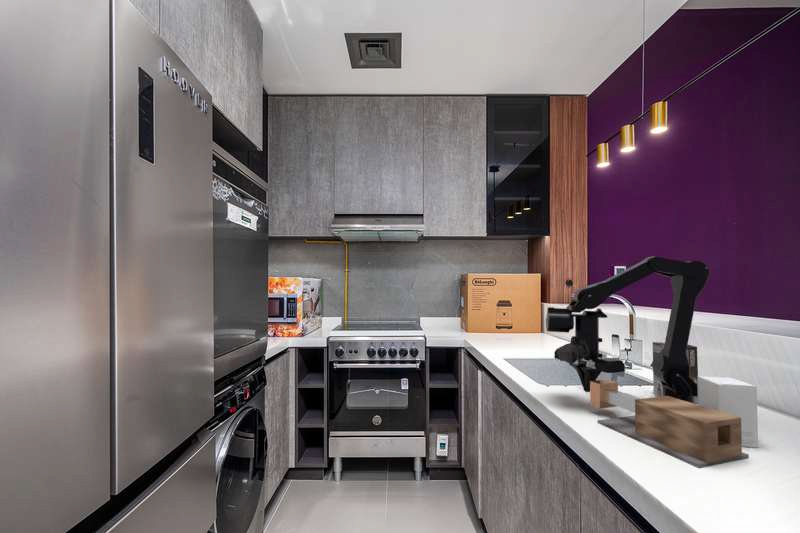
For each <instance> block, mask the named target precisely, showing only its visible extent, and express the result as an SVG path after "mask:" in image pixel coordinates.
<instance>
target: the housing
mask: <svg viewBox="0 0 800 533" xmlns="http://www.w3.org/2000/svg"><path fill="white" fill-rule="evenodd" d="M597 424H599V425H602V426H604V427H606V428H608V429H611V430H612V431H615V432H617V433H619V434H622V435H624V436H627V437H629V438H630V439H633V440H635V441H638V442H640V443H642V444H644V445H645V446H649V447H650V448H652V449H653V448H654V449H656V450H658V451H660V452H663V453H665V454H666V455H669V456H671V457H673V458H676V459H679V460H680V461H683V462H684V463H687V464H690V465H692V466H694V467H696V468H698V469H701V468H704V467H705V468H707V467H710V466H715V465H719V464H724V463H729V462H730V463H731V462H734V461H739V460H745V459H749V456H750V455H749V453H746V452H743V446H742V434H741V417H737V416H734V415H730V414H727V413H724V412H720V411H717V410H714V409H710V408H707V407H704V406H700V405H698V404H696V403H695V404H693V403H690V402H687V401H683V400H680V399H677V398H673V397H670V396H660V397H656V396H653V397H652V396H651V397H645V398H644V397H643V398H641V399H635V412H634V415H628V416H627V415H626V416H621V417H611V418H604V419H598V420H597Z"/></svg>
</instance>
